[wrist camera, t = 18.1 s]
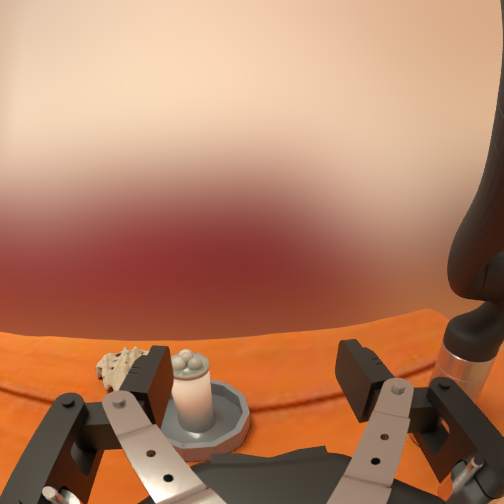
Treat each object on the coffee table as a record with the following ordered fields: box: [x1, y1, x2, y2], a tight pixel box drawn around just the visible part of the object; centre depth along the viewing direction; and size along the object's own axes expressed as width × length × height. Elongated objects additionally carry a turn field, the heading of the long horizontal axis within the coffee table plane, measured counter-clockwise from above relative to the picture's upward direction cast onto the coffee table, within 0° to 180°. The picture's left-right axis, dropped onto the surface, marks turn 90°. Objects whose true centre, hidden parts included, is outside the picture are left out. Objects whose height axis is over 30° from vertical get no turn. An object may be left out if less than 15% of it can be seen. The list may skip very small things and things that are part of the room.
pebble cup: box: [171, 349, 215, 433], centre depth 37 cm, size 6×6×14 cm
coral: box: [95, 346, 149, 391], centre depth 50 cm, size 15×12×5 cm
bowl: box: [161, 379, 250, 462], centre depth 39 cm, size 17×17×4 cm
